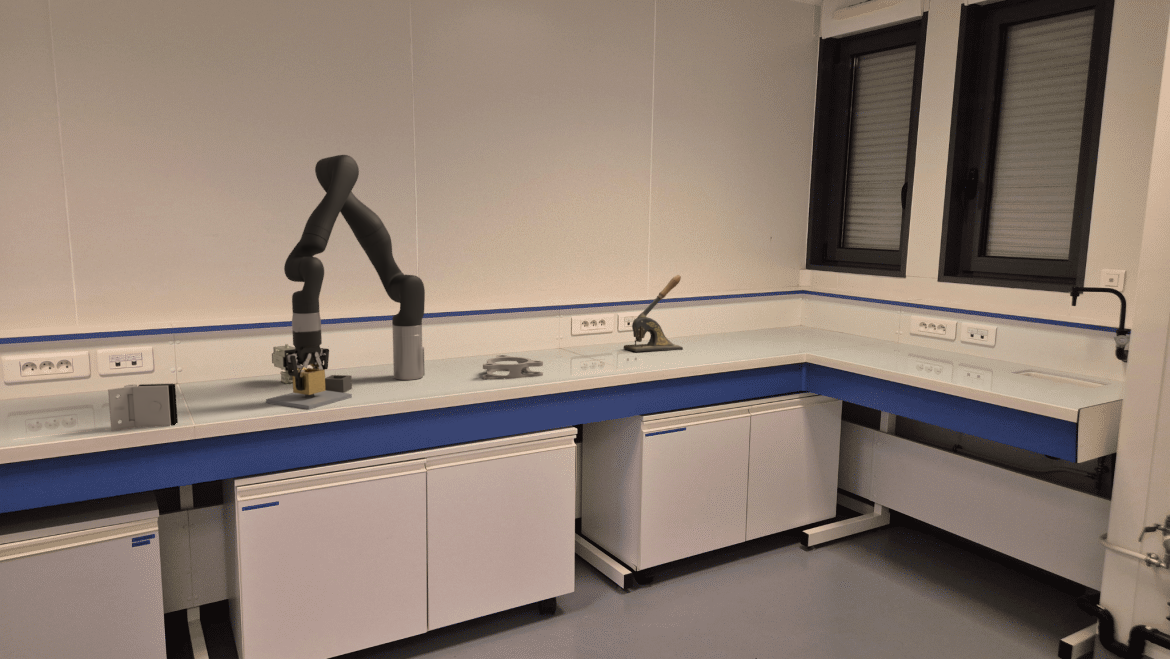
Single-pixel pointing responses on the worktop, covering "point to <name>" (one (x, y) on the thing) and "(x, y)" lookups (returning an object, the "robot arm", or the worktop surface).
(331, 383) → the grey hollow square block
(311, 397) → the post block
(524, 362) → the mechanical component
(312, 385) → the brass collar
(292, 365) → the robot arm
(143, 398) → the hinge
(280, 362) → the pneumatic valve
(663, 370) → the worktop surface
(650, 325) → the embossing press
